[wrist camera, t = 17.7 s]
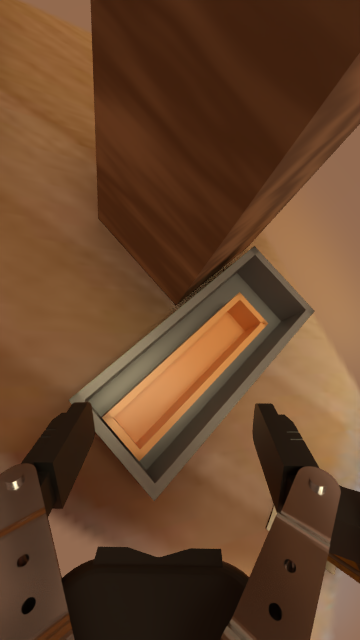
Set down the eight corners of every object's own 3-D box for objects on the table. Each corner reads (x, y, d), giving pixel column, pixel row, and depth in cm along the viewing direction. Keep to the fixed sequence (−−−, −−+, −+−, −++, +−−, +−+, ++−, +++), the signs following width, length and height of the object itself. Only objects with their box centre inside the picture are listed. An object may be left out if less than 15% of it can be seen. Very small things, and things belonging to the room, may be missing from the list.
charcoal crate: (144, 482, 24) (154, 501, 19) (75, 400, 24) (68, 400, 20) (286, 323, 34) (314, 311, 29) (234, 267, 34) (254, 246, 30)
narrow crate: (134, 452, 24) (139, 461, 20) (102, 415, 24) (102, 417, 20) (248, 333, 31) (268, 323, 27) (223, 305, 31) (239, 292, 28)
